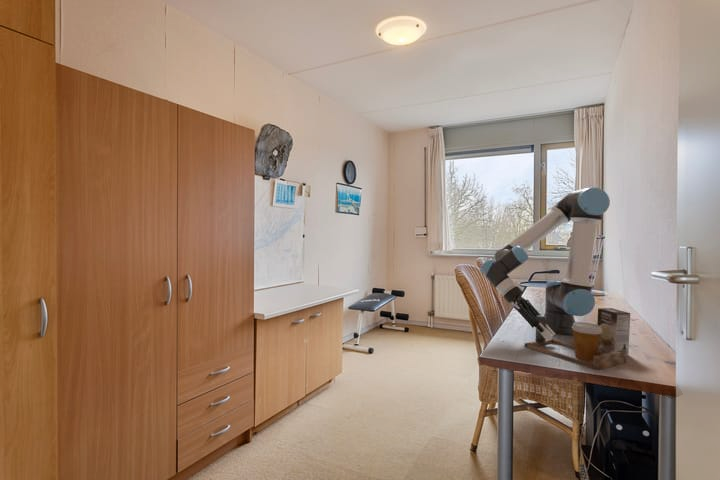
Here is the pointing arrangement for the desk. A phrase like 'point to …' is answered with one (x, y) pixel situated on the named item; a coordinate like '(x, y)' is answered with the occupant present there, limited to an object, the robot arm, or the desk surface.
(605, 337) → the coffee box
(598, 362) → the frame
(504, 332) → the desk surface
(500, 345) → the desk surface
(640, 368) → the desk surface
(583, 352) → the disposable coffee cup
